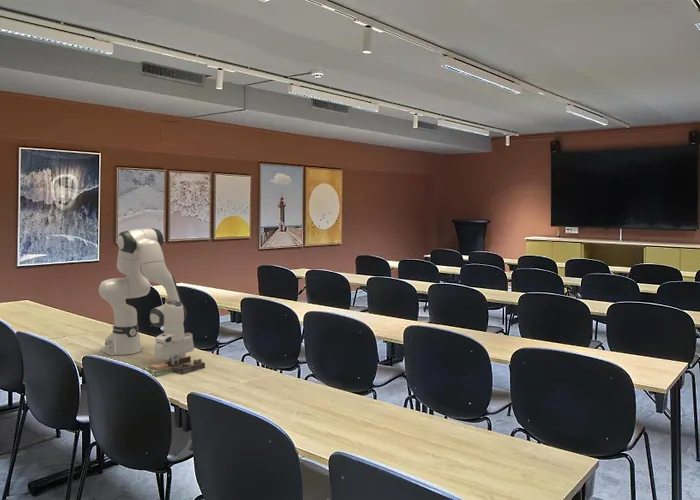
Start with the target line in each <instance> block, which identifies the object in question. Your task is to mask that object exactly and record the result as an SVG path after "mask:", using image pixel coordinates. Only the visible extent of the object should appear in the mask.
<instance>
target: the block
mask: <svg viewBox="0 0 700 500" xmlns="http://www.w3.org/2000/svg"><path fill="white" fill-rule="evenodd" d="M149 367H150V368H151V369H152V370H156V371H157V370H161V369H164V368H168V364H165V362H157V363H154V364H152V365H150V366H149Z"/></svg>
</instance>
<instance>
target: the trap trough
mask: <svg viewBox="0 0 700 500" xmlns="http://www.w3.org/2000/svg"><path fill="white" fill-rule="evenodd" d="M191 358H192V357H191V356H190V355H189V356H186V357H185V358H181V359H179V363H178V364H175V365H171V361H169V360H168V361H166V362H164V363H165V364H168V368H164V369H161V370H157V371H156V370H152V369H151V368H150V366H147V367H143V371H144V370H145V371H147V372H149V373H150V374H152V375H153V376H152V377H154V376H155V378H157V377H161V376H164V375H169V374H172V373H175V374H180V375H184V374H189V373H191V372H195V371H199V370H202V369H205V368H206V362H204V361H202V359H201V358H198V359H194V360H193V364H191ZM179 365H182V367H179ZM198 369H199V370H198Z"/></svg>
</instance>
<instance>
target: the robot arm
mask: <svg viewBox="0 0 700 500" xmlns="http://www.w3.org/2000/svg"><path fill="white" fill-rule="evenodd" d="M161 231H162V230H160V229H158V228H152V227H151V228H139V229H132V230H124V231H121V232H119V234H118V235H117V237H116V244H117V247H118V252H117V261H116V268H117V269H116V270H117V271H118V272H119V273H121V274H122V275H125V277H116V278H115V277H114V278H109V279H105V280H103V281H101V282H100V284H99V287H98V294H99V296H100V297H101V298H102V300H105V301H106V302H107V303H108V304H109V305H110V307H111V308H112V310H113V311H112V312H113V319H114V321H113V323H114V325H112V327H111V328H112V332H111V333H110V334H109V335H108V336H107V337H106V338H105V339H104V346H102V347H100V349H99V350H100V351H101V352H103V353H105V354H107V355H109V356H120V355H121V356H123V355H124V356H127V355H133V354H134V355H135V354H137V353H140V352H141V351H142V349H143V348H144V347H143V346H142V344H141V334H140V333H139V325H138V312H137V309H136V308H135V307H134V306H132V305H130V304H127V302H126V300H128V299H137V298H142V297H146V296H148V294H149V293H150V291H151V286H152V285H151V282H152V283H155V284H159V285H161V286H162V287H163V288H164V289H165V292H166V293H165V294H166V295H167V299H168V300H167V301H166V302H165V303H164V304H162V305H160V306H156V307H154V308H152V309H150V312H149V317H148V318H149V322H150V323H151V325H152V326H153V327H155V328H162V327H164V332H162V333H160V334H159V335H157V336H156V337H155V339H154V341H155V344H154V347H153V348H154V351H153V354H154V357H155V359H157V360H162V359H167V358H168V360H169V359H170V360H171V365H175V364H178V363H179V359H180V356H181V354H183V353H186V354H188V353H191V352H193V351H194V349H195V345H194V340H193V337H194V336H193V333H191V332H185V326H184V321H185V320H186V318H187V309H186V307H185V305H184V304H183V301H182V298H181V295H180V291H179V289H178V286H177V283H176V280H175V279H176V278H175V277H174V275H173V273H172V272H170V270H169V269H168V268H167V265H166V260H165V256H164V252H163V250H162V246H163V244H164V235H163V233H162V232H161ZM174 356H176V359H175V360H174V359H173V358H174Z"/></svg>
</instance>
